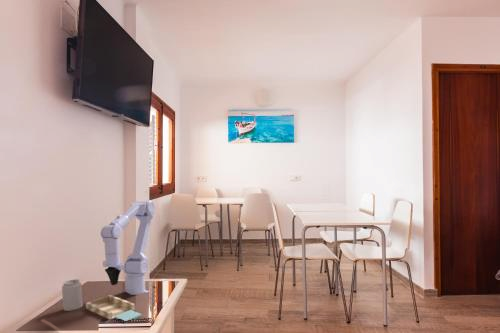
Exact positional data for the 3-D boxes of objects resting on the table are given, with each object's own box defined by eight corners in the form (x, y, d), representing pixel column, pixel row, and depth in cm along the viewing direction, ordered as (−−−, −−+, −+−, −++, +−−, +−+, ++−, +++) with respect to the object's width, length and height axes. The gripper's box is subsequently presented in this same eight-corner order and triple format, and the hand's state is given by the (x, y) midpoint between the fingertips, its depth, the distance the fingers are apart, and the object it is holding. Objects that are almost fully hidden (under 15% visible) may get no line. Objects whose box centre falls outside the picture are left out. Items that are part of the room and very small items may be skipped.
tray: (86, 310, 150) (85, 302, 150) (111, 301, 158) (110, 294, 158) (109, 321, 137) (109, 313, 137) (135, 311, 145) (134, 303, 145)
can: (86, 306, 155) (85, 278, 155) (73, 313, 148) (71, 284, 148) (73, 305, 157) (71, 278, 158) (59, 312, 150) (57, 283, 150)
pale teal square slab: (114, 321, 138) (114, 316, 138) (130, 314, 143) (130, 309, 143) (125, 326, 133) (125, 320, 133) (142, 319, 138) (141, 314, 138)
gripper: (95, 253, 154) (97, 284, 154) (111, 256, 145) (114, 290, 145) (110, 249, 160) (112, 279, 160) (127, 253, 150) (129, 285, 150)
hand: (114, 284), depth 153 cm, fingers closed
